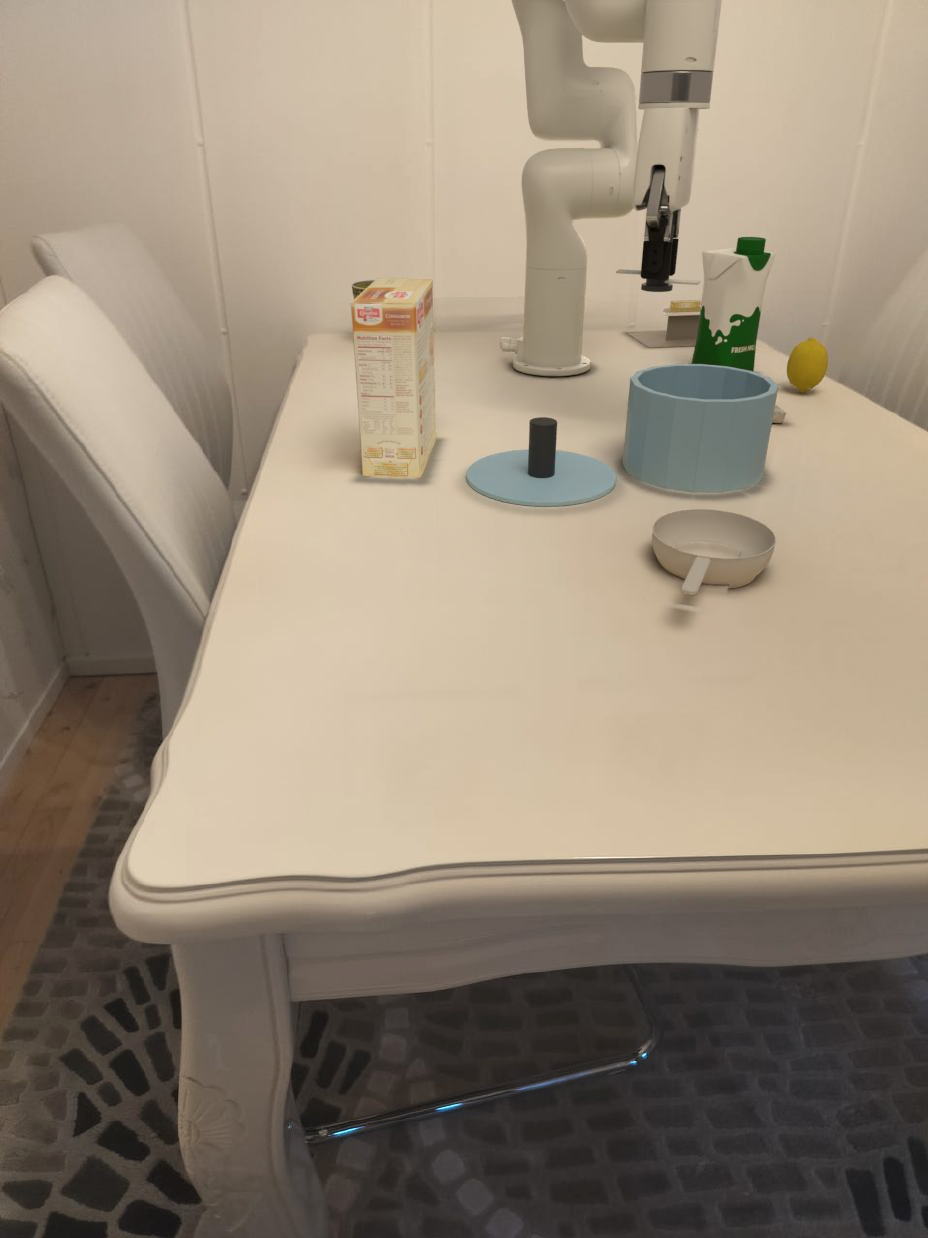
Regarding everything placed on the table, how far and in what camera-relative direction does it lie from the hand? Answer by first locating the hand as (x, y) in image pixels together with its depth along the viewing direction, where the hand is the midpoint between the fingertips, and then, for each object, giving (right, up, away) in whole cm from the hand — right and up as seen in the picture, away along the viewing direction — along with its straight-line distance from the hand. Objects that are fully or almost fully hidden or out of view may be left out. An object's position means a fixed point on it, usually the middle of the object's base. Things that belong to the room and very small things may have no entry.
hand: (657, 275), depth 103 cm
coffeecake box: (-30, -21, +4) cm, 37 cm away
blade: (0, -1, +1) cm, 2 cm away
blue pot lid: (-14, -24, -4) cm, 28 cm away
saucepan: (-2, -37, -25) cm, 45 cm away
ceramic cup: (-37, +9, +57) cm, 68 cm away
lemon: (+28, -7, +28) cm, 40 cm away
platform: (+18, +12, +60) cm, 64 cm away
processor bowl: (+4, -23, -1) cm, 23 cm away
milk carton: (+19, 0, +39) cm, 43 cm away
